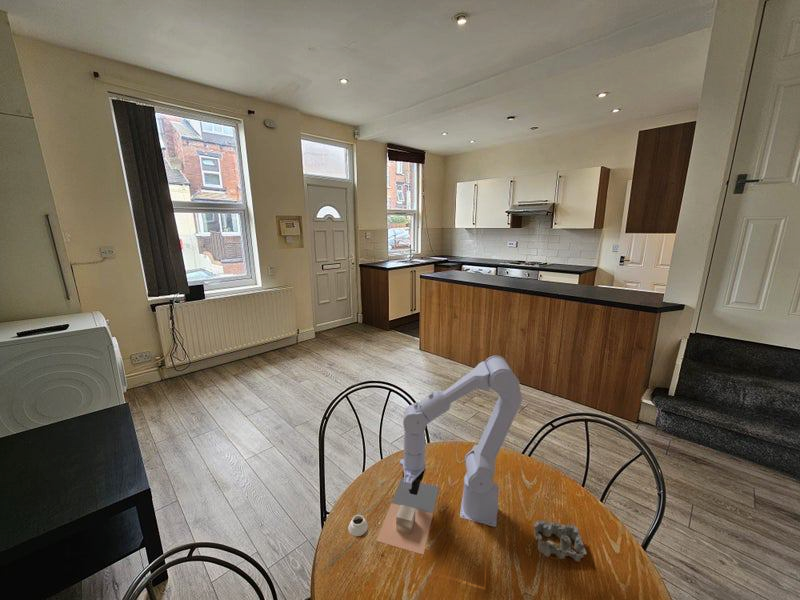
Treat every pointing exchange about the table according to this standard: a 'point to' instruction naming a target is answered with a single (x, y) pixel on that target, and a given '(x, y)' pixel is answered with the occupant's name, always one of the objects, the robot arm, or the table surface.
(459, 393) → the robot arm
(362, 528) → the white jar
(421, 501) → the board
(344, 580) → the table surface
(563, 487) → the table surface
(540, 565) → the table surface
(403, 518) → the cream block
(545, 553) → the egg carton
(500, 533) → the table surface
